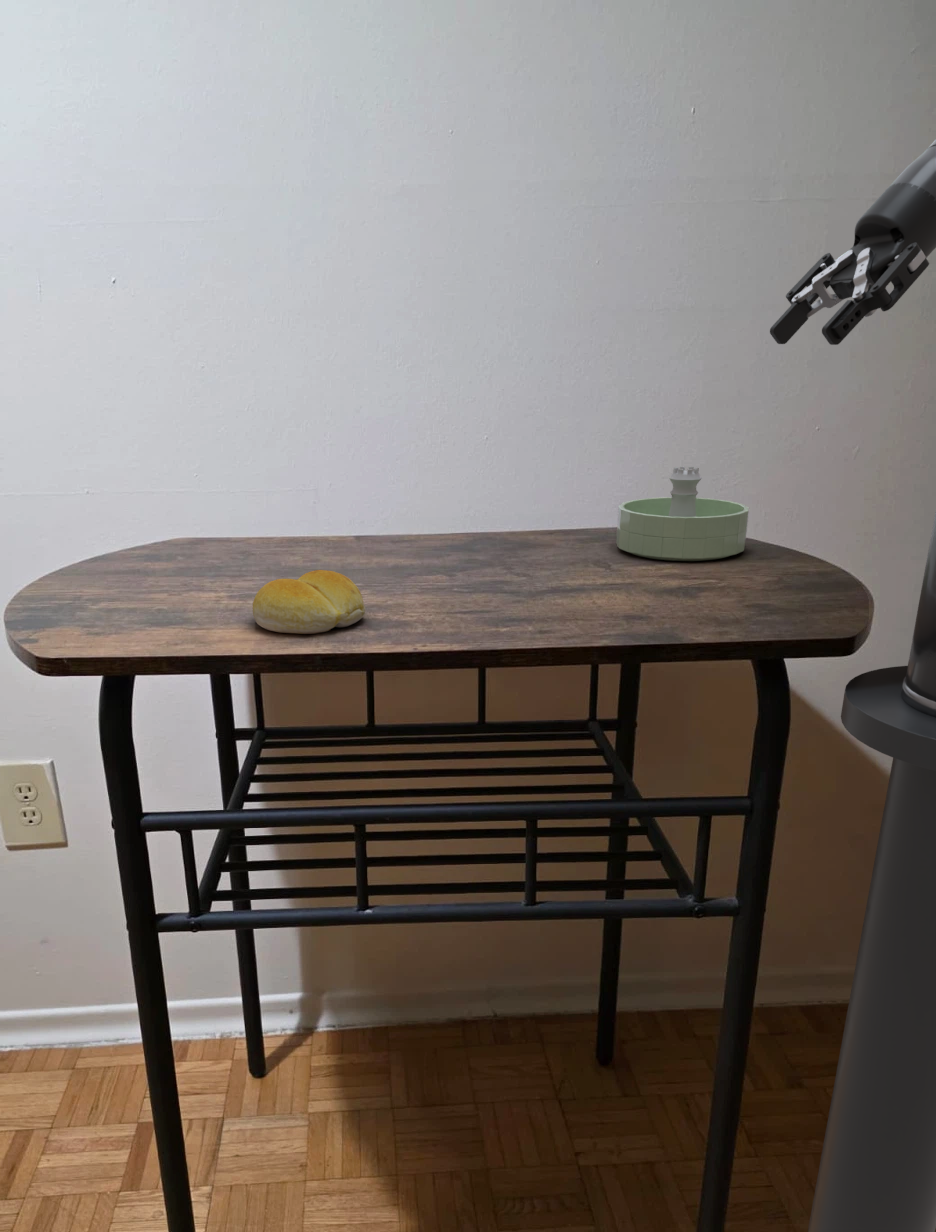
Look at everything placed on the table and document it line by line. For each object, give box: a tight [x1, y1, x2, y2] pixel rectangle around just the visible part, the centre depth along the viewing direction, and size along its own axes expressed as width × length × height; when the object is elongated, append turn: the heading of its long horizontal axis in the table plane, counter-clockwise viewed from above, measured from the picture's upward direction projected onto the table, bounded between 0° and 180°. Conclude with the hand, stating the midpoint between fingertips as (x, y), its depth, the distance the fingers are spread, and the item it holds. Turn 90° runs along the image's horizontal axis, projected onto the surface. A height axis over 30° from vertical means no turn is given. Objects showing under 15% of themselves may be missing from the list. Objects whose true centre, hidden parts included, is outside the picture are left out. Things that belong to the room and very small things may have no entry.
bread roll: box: [252, 569, 366, 635], centre depth 79 cm, size 8×9×4 cm
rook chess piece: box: [668, 466, 703, 517], centre depth 101 cm, size 4×4×8 cm
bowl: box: [615, 496, 750, 562], centre depth 102 cm, size 13×13×4 cm
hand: (801, 338), depth 98 cm, fingers open, 8 cm apart
